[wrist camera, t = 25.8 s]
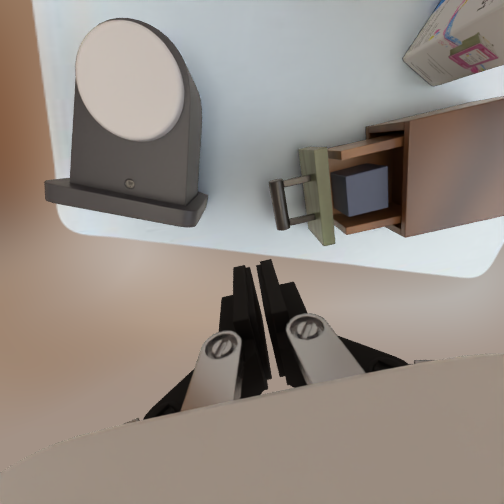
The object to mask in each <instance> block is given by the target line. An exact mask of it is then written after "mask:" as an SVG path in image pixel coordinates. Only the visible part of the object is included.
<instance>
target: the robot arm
mask: <svg viewBox="0 0 504 504" xmlns="http://www.w3.org/2000/svg"><path fill="white" fill-rule="evenodd" d="M260 263H261V265H257V266H256V267H257V272H258V278H259V283H260V289H261V295H262V301H263V306H264V311H265V317H266V321H267V325H268V330H269V334H270V338H271V342H272V346H273V350H274V355H275V358H276V363H277V367H278V371H279V375H280V377H283V376H285V377H286V381H287V385H291V386H292V387H294V388H292V389H287V390H282V391H277V392H272V393H268V394H263V395H261V393H262V392H263V391H264V390H267V389H268V384H267V380H268V379H272V376H271V370H270V363H269V357H268V351H267V344H266V339H265V332H264V325H263V320H262V314H261V310H260V306H259V302H258V298H257V294H256V290H255V286H254V282H253V278H252V274H251V270H250V267H248V268H246V267H245V265H243V266H238V267H234V269H233V270H234V271H233V295H230V296H226V297H222V300H221V312H220V324H219V332H218V333H216V334H213V335H212V336H211V337H210V338H208V339H207V340H206V341H205V342H204V344H203V346H202V348H201V351H200V354H199V357H198V360H197V363H196V366H195V369H194V370H193V371H191V372H190V373H189V374H188V375H187V376H186V377H185V378H184V379H183V380H182V381H181V382H179V383H178V384H177V385H176V386H175V387H174V388H173V389H172V390H171V391H170V392H169V393H168V394H166V395H165V396H164V397H163V398H162V399H161V400H160V401H159V402H158V403H157V404H156V405H155V406H153V407H152V409H151V410H150V411H149V412H148V413H147V414H146V416H145V417H144V419H143V420H141V421H140V420H139V418H136V419H134V420H132V421H129V422H127V423H125V424H123V425H119V426H115V427H111V428H107V429H103V430H99V431H95V432H91V433H88V434H83V435H79V436H76V437H74V438H71V439H68V440H65V441H62V442H59V443H56V444H54V445H51V446H49V447H47V448H44V449H42V450H40V451H38V452H35V453H34V454H32V455H30V456H28V457H26V458H24V459H23V460H21V461H19V462H17V463H15V464H14V465H12V466H10V467H8V468H7V469H5V470H4V471H2V472H1V473H0V504H504V354H480V355H467V356H459V357H454V358H447V359H441V360H414V364H408V363H406V362H405V361H404V360H401V359H399V358H397V357H395V356H392V355H389V354H387V353H384V352H381V351H378V350H375V349H373V348H370V347H367V346H365V345H362V344H359V343H356V342H353V341H351V340H348V339H345V338H342V337H340V336H337V334H336V333H335V332H334V330H333V329H332V328H331V327H330V325H329V324H328V323H327V322H326V320H325V319H324V318H323V317H321V316H318V315H316V314H308V313H307V311H306V308H305V306H304V304H303V301H302V299H301V297H300V295H299V292H298V290H297V288H296V286H295V283H294V282H290V283H285V284H280V285H279V282H278V279H277V276H276V273H275V270H274V267H273V263H272V261H271V259H270V260H265V261H261V262H260Z"/></svg>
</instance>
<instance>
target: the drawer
mask: <svg viewBox="0 0 504 504" xmlns="http://www.w3.org/2000/svg"><path fill="white" fill-rule="evenodd" d="M298 151H299V159H300V167H301V175H302V176H300V177H295V178H291V179H287V180H283V179H275V180H271V181H269V182H268V183H269V188H270V193H271V199H272V204H273V210H274V215H275V221H276V226H277V230H287V229H289V228H290V225H295V224H300V223H304V222H308V229H309V230H310V231H311V232H312V233H313V235H314V236H315V237H316V238H317V239H318V240H319V241H320V242H321V244H322V245H323V246H327V245H332V244H335V234H334V225H335V226H336V227H337V228H338V229H340V230H341V231H342V232H343V233H345V234H346V235H348V234H353V233H357V232H362V231H366V230H371V229H375V228H380V227H384V226H389V225H393V224H398V223H401V220H402V189H403V159H404V132H398V133H392V134H388V135H383V136H379V137H375V138H371V139H366V140H362V141H358V142H353V143H349V144H345V145H341V146H336V147H332V148H328V149H327V147H305V148H301V149H298ZM365 163H369V164H376V165H383V166H388V207H387V208H383V209H379V210H375V211H371V212H367V213H363V214H359V215H355V216H351V217H348V216H346V215H345V214H343V213H342V212H340V211H338V210H337V209H335V208H334V202H333V192H332V183H331V172H334V171H338V170H342V169H346V168H350V167H354V166H358V165H362V164H365ZM301 183H303V190H304V198H305V206H306V214H307V215H303V216H299V217H295V218H290V219H289V216H288V210H287V203H286V197H285V191H284V187H288V186H292V185H297V184H301Z"/></svg>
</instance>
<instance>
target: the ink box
mask: <svg viewBox="0 0 504 504" xmlns="http://www.w3.org/2000/svg"><path fill="white" fill-rule="evenodd" d="M403 60H404V61H405V62H406V63H407V64H408V65H409V66H410V67H411V68H412V69H413V70H414V71H416V72H417V73H418V74H419V75H420V76H421V77H422V78H423V79H425V80H426V81H427V82H428V83H429V84H431V85H432V86H437V85H441V84H444V83H447V82H450V81H453V80H456V79H459V78H463V77H466V76H469V75H472V74H476V73H478V72H482V71H485V70H488V69H492V68H495V67H498V66H501V65H504V0H441V1H440V3H439V4H438V6H437V7H436V9H435V10H434V12H433V14H432V15H431V17H430V18H429V20H428V21H427V23H426V24H425V26H424V27H423V29H422V30H421V32H420V33H419V35H418V36H417V38H416V39H415V41H414V42H413V44H412V45H411V47H410V48H409V50H408V51H407V53H406V54H405V56H404V57H403Z"/></svg>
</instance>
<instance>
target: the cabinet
mask: <svg viewBox="0 0 504 504" xmlns="http://www.w3.org/2000/svg"><path fill="white" fill-rule="evenodd" d="M398 132H404V159H403V189H402V220H401V223H398V224H393V225H389V226H384V227H386V228H388V229H390V230H392V231H394V232H395V233H397V234H399V235H401V236H403V237H410V236H415V235H419V234H424V233H428V232H433V231H437V230H442V229H446V228H451V227H455V226H460V225H464V224H469V223H473V222H478V221H482V220H487V219H491V218H496V217H500V216H504V96H501V97H496V98H490V99H485V100H479V101H474V102H469V103H465V104H460V105H456V106H452V107H448V108H443V109H439V110H435V111H431V112H426V113H422V114H418V115H414V116H409V117H405V118H401V119H397V120H392V121H388V122H384V123H379V124H375V125H371V126H367V127H366V139H371V138H375V137H379V136H383V135H388V134H392V133H398Z"/></svg>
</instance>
